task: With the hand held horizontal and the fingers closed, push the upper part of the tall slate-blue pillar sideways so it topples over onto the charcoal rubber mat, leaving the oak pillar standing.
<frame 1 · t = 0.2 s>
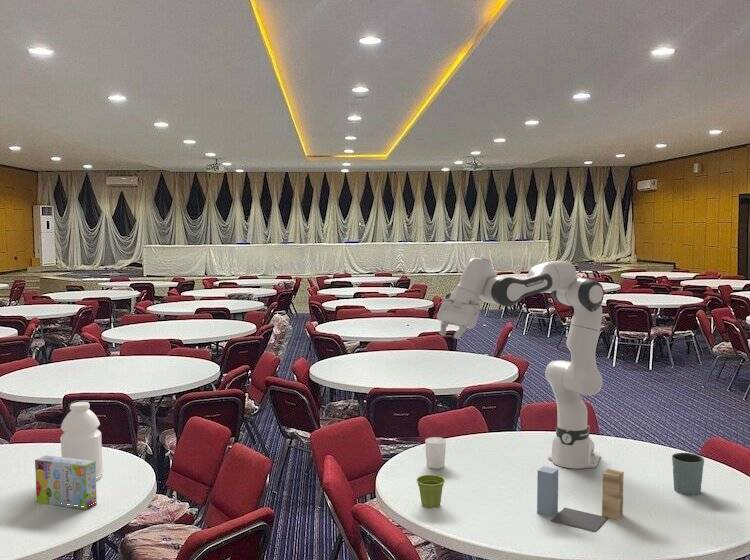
hand: (448, 336, 249), 54 cm above the table, tool tilted 30°, fingers open, 8 cm apart
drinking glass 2: (687, 491, 248), on the table
mat: (579, 519, 225), on the table
bottle: (82, 478, 265), on the table
snack box: (66, 504, 242), on the table
white cup: (435, 466, 276), on the table
plant pot: (430, 505, 238), on the table
oak pillar: (612, 515, 228), on the table
slate pillar: (547, 512, 231), on the table
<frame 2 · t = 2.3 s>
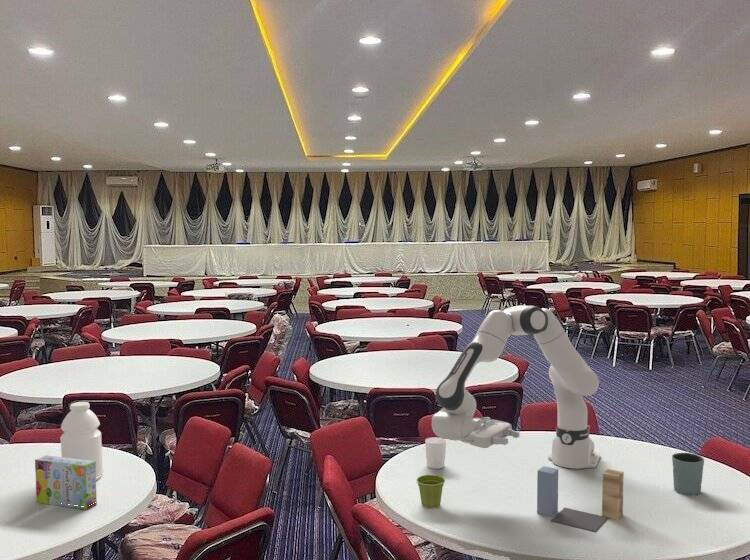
hand: (513, 438, 236), 22 cm above the table, tool horizontal, fingers open, 8 cm apart
nothing on the table moved.
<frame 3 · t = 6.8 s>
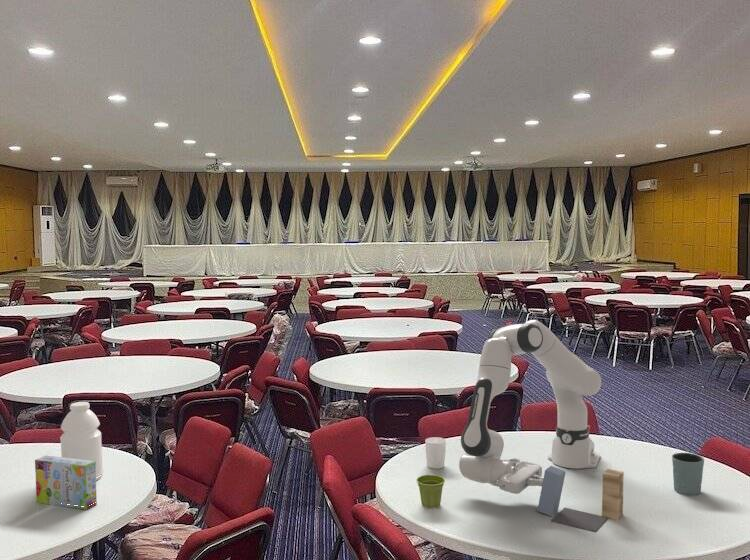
hand: (544, 482, 231), 10 cm above the table, tool horizontal, fingers closed
slate pillar: (547, 510, 231), on the table, tilted 10°
everything else where it was.
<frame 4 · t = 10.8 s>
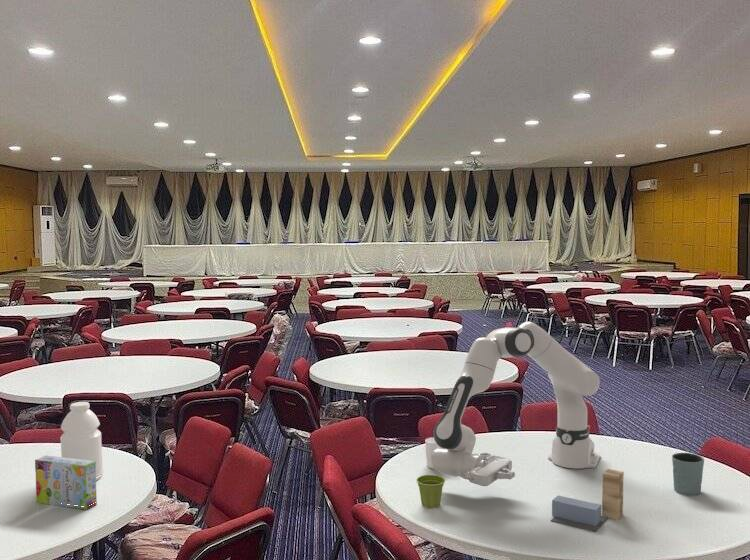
hand: (513, 475, 237), 10 cm above the table, tool horizontal, fingers closed
slate pillar: (554, 505, 230), point 3 cm above the table, tilted 90°, touching mat
everything else where it was.
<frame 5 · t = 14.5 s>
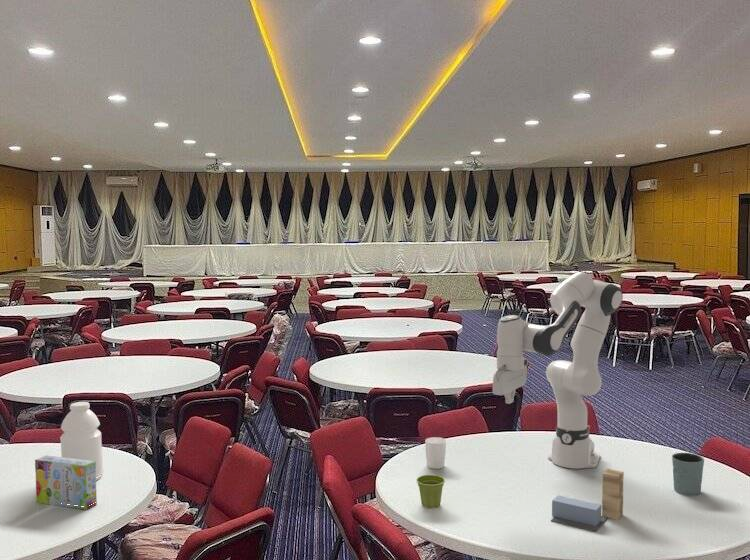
hand: (509, 402, 247), 31 cm above the table, tool pointing down, fingers closed
nothing on the table moved.
at the end: slate pillar tilted 90°; slate pillar inside the target area (4.0 cm from its centre), point 2.8 cm above the table; oak pillar tilted 0° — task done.
